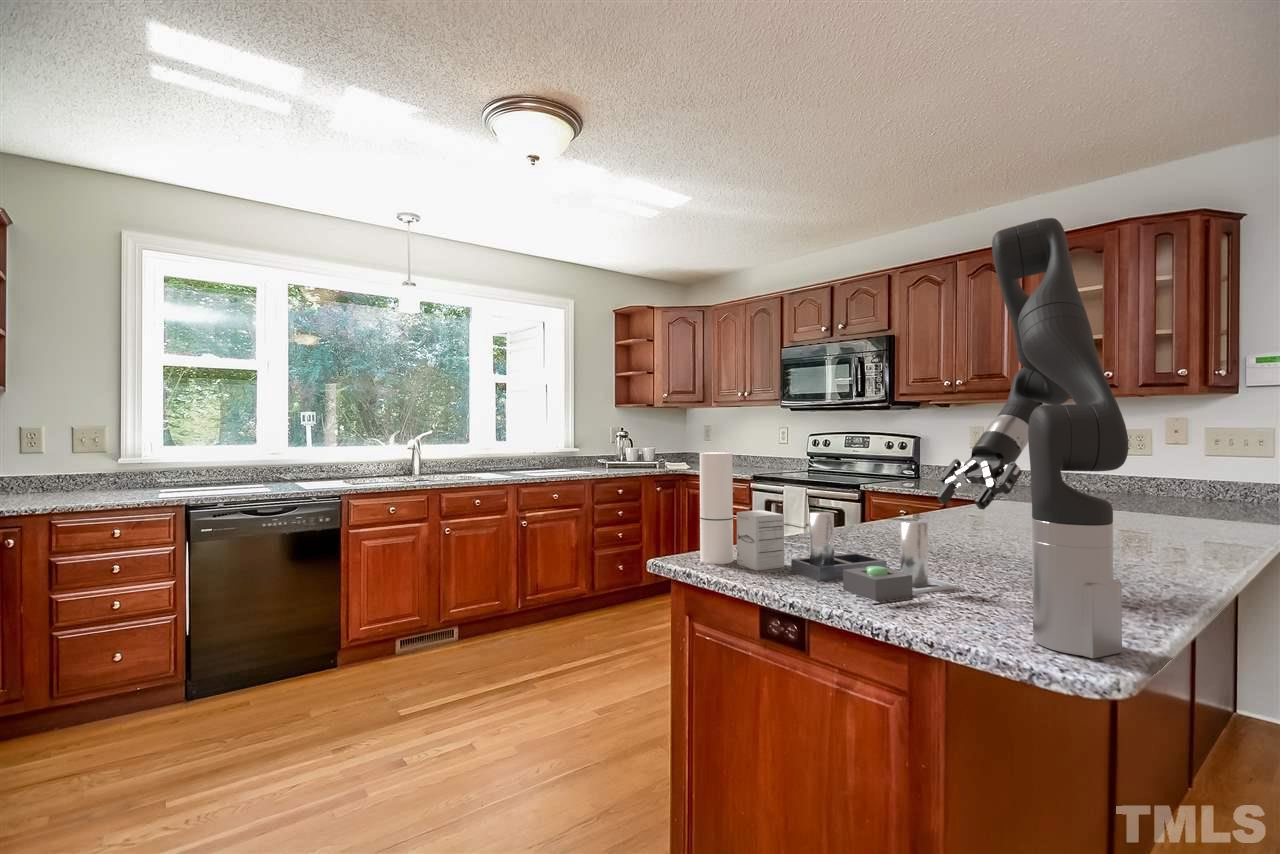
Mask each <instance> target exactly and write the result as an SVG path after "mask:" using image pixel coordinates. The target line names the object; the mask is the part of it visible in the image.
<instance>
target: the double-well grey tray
mask: <svg viewBox="0 0 1280 854" xmlns="http://www.w3.org/2000/svg"><path fill="white" fill-rule="evenodd" d="M790 563H791V565H790V566H791V569H790V571H791V572H792V573H794V574H796V575H800V576H803V577H805V578H808V579H811V580H813V581H817V582H820V583H821V582H822V583H823V582H828V581H829V582H830V581H838V580H843V570H847V569H856V568H865V567H868V566H881V567H885V568H887V567H888V566H887V565H888V564H887V560H883V559H880V558H876V557H873V556H868V555H865V554H861V553H857V552H850V553H841V554H840V553H839V554H834V565H829V566H816V565H812V564H810V556H809V557H799V558H791V560H790Z"/></svg>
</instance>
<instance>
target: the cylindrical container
mask: <svg viewBox="0 0 1280 854" xmlns="http://www.w3.org/2000/svg"><path fill="white" fill-rule="evenodd" d="M733 461H734V460H733V452H719V451H717V452H716V451H715V452H700V453H699V549H700V550H699V551H700V552H699V553H700V554H699V556H700V557H699V558H700V559H699V560H700V563H704V564H711V565H712V564H713V565H725V564H726V565H727V564H731V563H733V562H734V519H733V518H734V510H733V509H734V506H733V504H734V492H733V491H734V490H733V489H734V487H733V485H734V484H733V483H734V481H733V479H734V477H733V475H734V473H733V464H734V463H733Z"/></svg>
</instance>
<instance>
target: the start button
mask: <svg viewBox="0 0 1280 854" xmlns="http://www.w3.org/2000/svg"><path fill="white" fill-rule="evenodd" d="M867 573H868V574H871V575H874V576H881V575H888V574H887V568H885V567H881V566H868V567H867Z"/></svg>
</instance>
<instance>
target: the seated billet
mask: <svg viewBox="0 0 1280 854" xmlns="http://www.w3.org/2000/svg"><path fill="white" fill-rule="evenodd" d="M834 555H835V513H833V512H828V511H811V512H809V557H810V564H812V565H816V566H829V565H834Z"/></svg>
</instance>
